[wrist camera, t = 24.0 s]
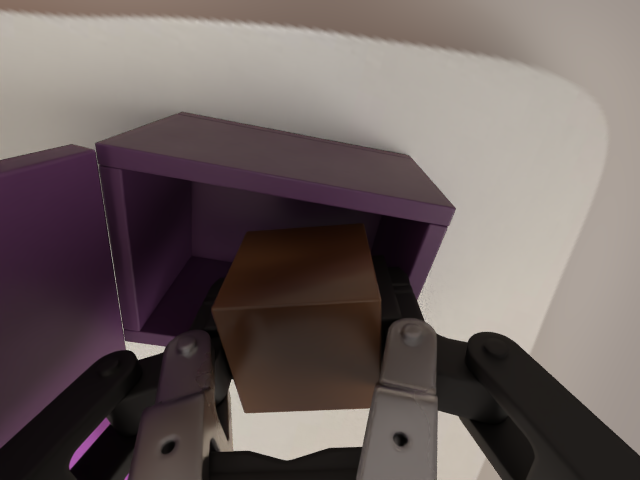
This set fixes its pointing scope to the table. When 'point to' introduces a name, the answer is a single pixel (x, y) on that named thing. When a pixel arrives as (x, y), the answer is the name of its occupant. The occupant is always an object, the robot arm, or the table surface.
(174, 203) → the purple open box
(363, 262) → the block
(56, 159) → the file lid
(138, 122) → the table surface
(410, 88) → the table surface
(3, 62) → the table surface
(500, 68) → the table surface
